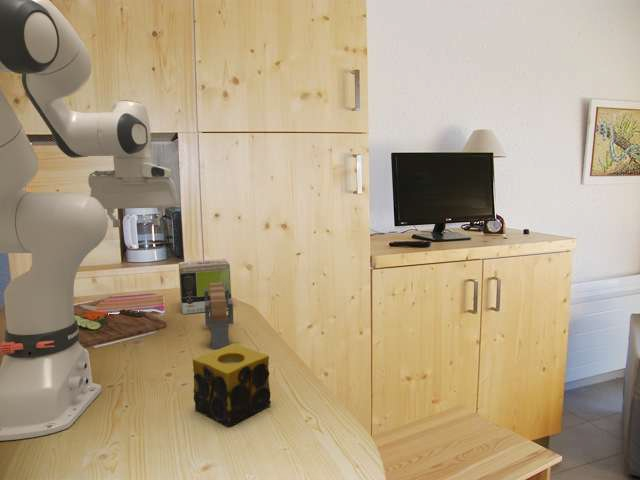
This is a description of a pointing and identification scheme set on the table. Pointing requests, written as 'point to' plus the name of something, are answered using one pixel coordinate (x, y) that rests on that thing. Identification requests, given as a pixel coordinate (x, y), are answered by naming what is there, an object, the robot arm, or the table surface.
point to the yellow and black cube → (231, 384)
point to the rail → (217, 302)
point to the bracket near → (219, 327)
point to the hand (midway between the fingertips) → (136, 226)
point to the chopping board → (112, 325)
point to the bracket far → (227, 296)
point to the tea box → (201, 282)
